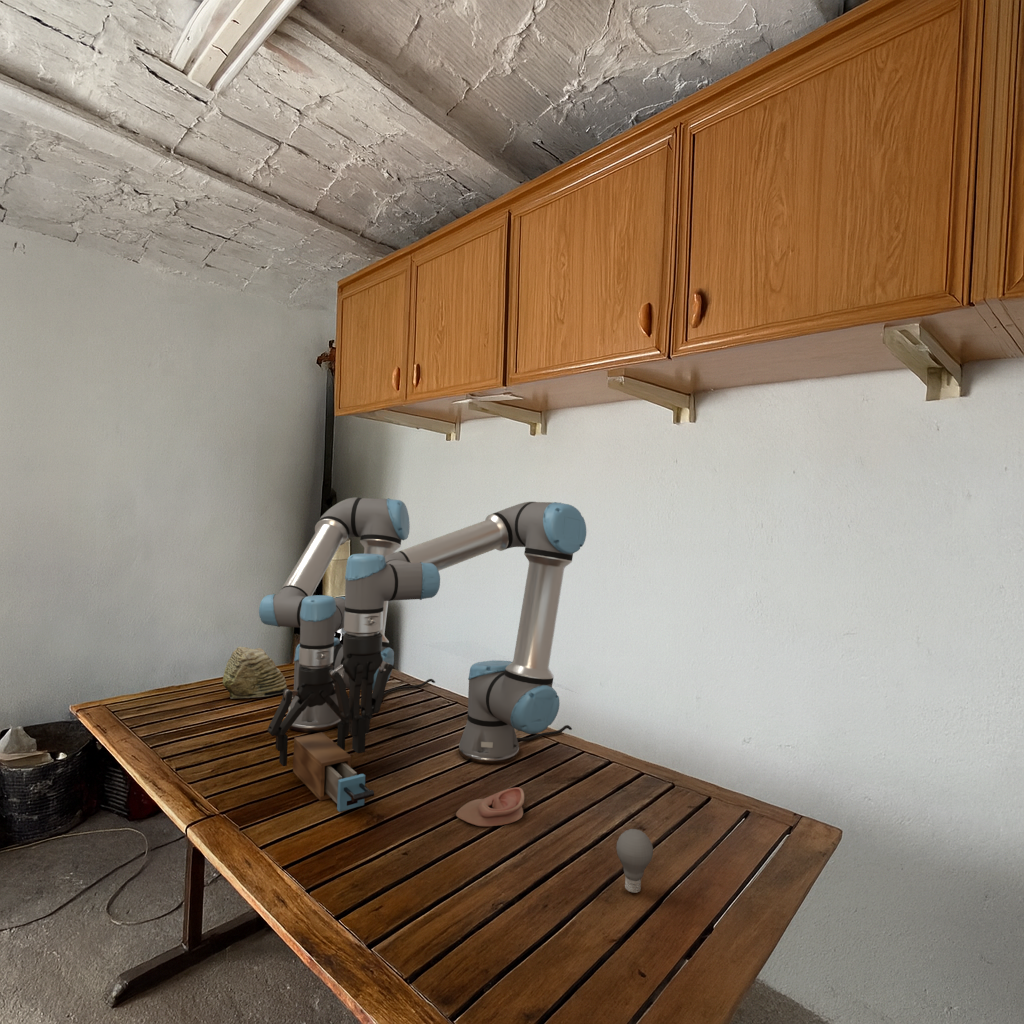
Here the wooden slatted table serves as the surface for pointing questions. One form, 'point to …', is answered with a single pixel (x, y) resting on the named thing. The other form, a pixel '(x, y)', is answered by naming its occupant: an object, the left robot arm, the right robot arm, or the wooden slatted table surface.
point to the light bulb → (634, 857)
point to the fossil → (252, 674)
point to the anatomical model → (494, 808)
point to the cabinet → (316, 760)
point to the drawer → (345, 786)
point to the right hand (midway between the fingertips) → (358, 750)
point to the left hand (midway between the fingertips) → (312, 757)
